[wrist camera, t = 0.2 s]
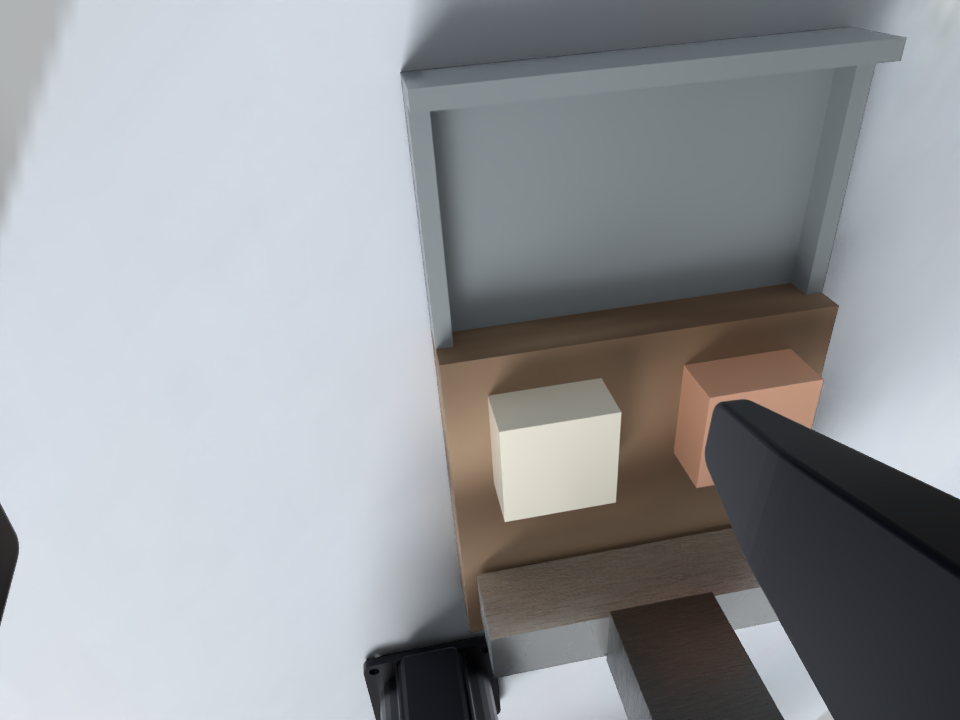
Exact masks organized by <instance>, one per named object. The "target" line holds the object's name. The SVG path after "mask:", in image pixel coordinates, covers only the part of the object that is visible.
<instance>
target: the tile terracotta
mask: <svg viewBox="0 0 960 720" xmlns="http://www.w3.org/2000/svg"><path fill="white" fill-rule="evenodd" d="M823 381H824V379H823V378H822V377H821V376H820V375H818V374H817V373H816V372H815V371H814V370H813V369H812V368H811V367H810V366H809V365H808V364H807V363H806V362H804V361H803V360H802V359H801V358H800V357H799V356H798V355H797V354H796V353H795V352H794V351H793V350H792V349H785V350H778V351H772V352H765V353H759V354H752V355H746V356H740V357H733V358H727V359H720V360H714V361H707V362H701V363H695V364H688V365H684V369H683V377H682V386H681V394H680V403H679V411H678V420H677V428H676V436H675V445H674V454H675V455H676V457H677V458H678V460H679V462H680V463H681V465H682V466H683V468H684V469H685V471H686V473H687V474H688V476H689V477H690V479H691V480H692V482H693V483H694V485H695V487H696V488H700V487H706V486H712V485H714V483H713V480H712V478H711V476H710V473H709V471H708V468H707V466H706V462H705V446H706V441H707V436H708V432H709V427H710V422H711V417H712V413H713V410H714V408H715V406H716V405H717V404H718V403H720V402H722V401H731V400H739V399H747V400H751V401H753V402H755V403H757V404H759V405H761V406H763V407H765V408H768V409H770V410H772V411H774V412H776V413H778V414H780V415H782V416H784V417H787V418H789V419H791V420H793V421H795V422H797V423H799V424H801V425H804V426H806V427H808V428H810V429H811V427H812V423H813V420H814V416H815V412H816V408H817V404H818V400H819V396H820V392H821V388H822V384H823Z"/></svg>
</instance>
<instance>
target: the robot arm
mask: <svg viewBox="0 0 960 720" xmlns="http://www.w3.org/2000/svg"><path fill="white" fill-rule="evenodd" d="M705 462H706V466H707V468H708V471H709V473H710V476H711V478H712V480H713V483H714V485H715V488H716V490H717V492H718V495H719V497H720V499H721V502H722V504H723V507H724V509H725V511H726V514H727V516H728V518H729V521H730V523H731V526H732V528H733V530H734V533H735V535H736V538H737V540H738V542H739V545H740V547H741V549H742V551H743V554H744V556H745V558H746V560H747V562H748V564H749V566H750V568H751V570H752V572H753V574H754V576H755V578H756V580H757V581H758V583H759V585H760V587H761V589H762V590H763V592H764V594H765V596H766V598H767V599H768V601H769V603H770V605H771V607H772V608H773V610H774V612H775V614H776V616H777V617H778V619H779V621H780V623H781V625H782V626H783V628H784V630H785V632H786V634H787V635H788V637H789V639H790V641H791V643H792V644H793V646H794V648H795V650H796V652H797V653H798V655H799V657H800V659H801V661H802V662H803V664H804V666H805V668H806V670H807V671H808V673H809V675H810V677H811V679H812V680H813V682H814V684H815V686H816V688H817V689H818V691H819V693H820V695H821V697H822V698H823V700H824V702H825V704H826V706H827V707H828V709H829V711H830V713H831V715H832V716H833V718H834V720H960V499H958V498H956V497H954V496H952V495H950V494H947V493H945V492H943V491H941V490H939V489H937V488H935V487H933V486H931V485H928V484H926V483H924V482H922V481H920V480H918V479H916V478H914V477H911V476H909V475H907V474H905V473H903V472H901V471H899V470H897V469H895V468H892V467H890V466H888V465H886V464H884V463H882V462H880V461H878V460H875V459H873V458H871V457H869V456H867V455H865V454H863V453H861V452H859V451H856V450H854V449H852V448H850V447H848V446H846V445H844V444H842V443H839V442H837V441H835V440H833V439H831V438H829V437H827V436H825V435H823V434H820V433H818V432H816V431H814V430H812V429H810V428H808V427H806V426H804V425H801V424H799V423H797V422H795V421H793V420H791V419H789V418H787V417H784V416H782V415H780V414H778V413H776V412H774V411H772V410H770V409H768V408H765V407H763V406H761V405H759V404H757V403H755V402H753V401H751V400H747V399H739V400H731V401H722V402H720V403H718V404H717V405H716V406H715V408H714V410H713V413H712V417H711V422H710V427H709V432H708V436H707V441H706V446H705ZM18 554H19V542H18V538H17V535H16V532H15V531H14V529H13V527H12V525H11V523H10V521H9V519H8V517H7V515H6V513H5V511H4V509H3V507H2V505H1V504H0V625H1V621H2V617H3V613H4V610H5V606H6V602H7V598H8V594H9V590H10V586H11V582H12V579H13V575H14V571H15V567H16V563H17V559H18ZM364 677H365V680H366V684H367V688H368V691H369V695H370V699H371V703H372V706H373V710H374V714H375V718H376V720H498V717H497V714H499V713H500V710H501V709H500V697H499V686H498V678H494V675H493V671H492V666H491V661H490V656H489V651H488V646H487V642H486V637H479V638H474V639H469V640H464V641H459V642H454V643H448V644H443V645H438V646H433V647H428V648H423V649H418V650H413V651H408V652H402V653H397V654H392V655H387V656H382V657H377V658H372V659H369V660H367V661H366V662H365V663H364Z"/></svg>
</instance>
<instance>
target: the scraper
mask: <svg viewBox="0 0 960 720" xmlns="http://www.w3.org/2000/svg"><path fill="white" fill-rule="evenodd" d="M477 582H478V592H479V602H480V612H481V617H482V622H483V627H484V632H485V637H486V642H487V646H488V651H489V656H490V661H491V666H492V671H493V675H494V678H499V677H503V676H508V675H513V674H518V673H523V672H528V671H533V670H538V669H543V668H548V667H553V666H558V665H563V664H568V663H573V662H578V661H582V660H587V659H592V658H597V657H602V656H607V662H608V665H609V668H610V671H611V673H612V676H613V679H614V681H615V684H616V687H617V690H618V692H619V695H620V698H621V701H622V703H623V706H624V709H625V712H626V714H627V717H628V720H784V719H783V717H782V715H781V713H780V712H779V710H778V708H777V706H776V704H775V703H774V701H773V699H772V697H771V696H770V694H769V692H768V690H767V688H766V687H765V685H764V683H763V681H762V680H761V678H760V676H759V674H758V672H757V671H756V669H755V667H754V665H753V664H752V662H751V660H750V658H749V656H748V655H747V653H746V651H745V649H744V648H743V646H742V644H741V642H740V640H739V639H738V637H737V635H736V633H735V632H734V630H735V629H740V628H745V627H750V626H755V625H760V624H765V623H770V622H775V621H779V619H778V617H777V616H776V614H775V612H774V610H773V608H772V607H771V605H770V603H769V601H768V599H767V598H766V596H765V594H764V592H763V590H762V589H761V587H760V585H759V583H758V581H757V580H756V578H755V576H754V574H753V572H752V570H751V568H750V566H749V564H748V562H747V560H746V558H745V556H744V554H743V551H742V549H741V547H740V545H739V542H738V540H737V538H736V535H735V533H734V530H733V528H728V529H723V530H718V531H712V532H707V533H701V534H696V535H690V536H685V537H680V538H674V539H669V540H663V541H658V542H653V543H647V544H642V545H636V546H631V547H626V548H620V549H615V550H609V551H604V552H599V553H593V554H588V555H582V556H577V557H572V558H566V559H561V560H555V561H550V562H545V563H539V564H534V565H528V566H523V567H517V568H512V569H507V570H501V571H496V572H490V573H485V574H480V575H477Z"/></svg>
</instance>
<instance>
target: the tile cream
mask: <svg viewBox="0 0 960 720" xmlns="http://www.w3.org/2000/svg"><path fill="white" fill-rule="evenodd" d="M488 408H489V422H490V436H491V450H492V464H493V478H494V485H495V489H496V492H497V496H498V499H499V503H500V507H501V510H502V514H503V517H504V521H505V522H508V521H514V520H520V519H525V518H531V517H537V516H542V515H548V514H553V513H559V512H565V511H570V510H576V509H582V508H587V507H593V506H599V505H604V504H610V503H616V492H617V476H618V460H619V443H620V427H621V411H620V409H619V407H618V406H617V404H616V402H615V400H614V399H613V397H612V395H611V394H610V392H609V390H608V388H607V387H606V385H605V383H604V382H603V380H602V378H598V379H592V380H585V381H579V382H573V383H566V384H560V385H553V386H547V387H540V388H534V389H528V390H521V391H515V392H508V393H502V394H495V395H489V396H488Z"/></svg>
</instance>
